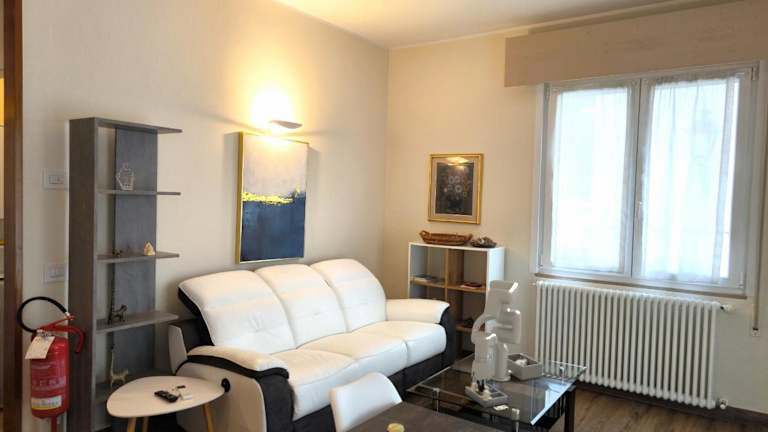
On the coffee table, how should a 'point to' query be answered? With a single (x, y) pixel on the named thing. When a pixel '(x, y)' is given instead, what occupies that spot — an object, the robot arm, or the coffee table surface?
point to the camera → (522, 361)
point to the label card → (500, 407)
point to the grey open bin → (524, 367)
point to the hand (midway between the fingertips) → (481, 391)
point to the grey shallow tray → (495, 395)
